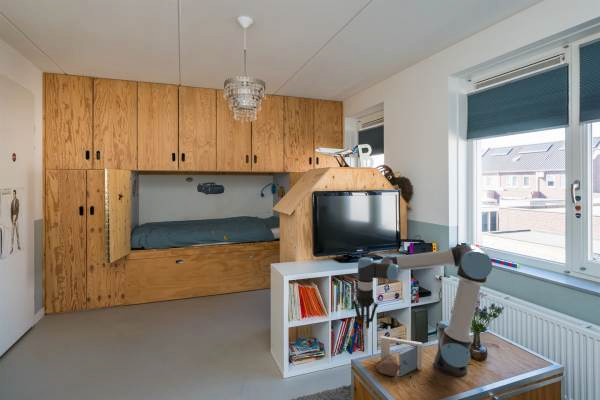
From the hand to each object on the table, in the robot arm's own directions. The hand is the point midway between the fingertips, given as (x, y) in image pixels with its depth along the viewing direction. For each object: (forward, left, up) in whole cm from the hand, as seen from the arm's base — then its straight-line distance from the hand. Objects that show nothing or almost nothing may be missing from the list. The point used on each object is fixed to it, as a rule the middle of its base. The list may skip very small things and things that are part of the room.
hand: (365, 333), depth 157 cm
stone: (-11, 0, -18) cm, 21 cm away
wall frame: (-16, -8, -17) cm, 25 cm away
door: (-22, -3, -17) cm, 28 cm away
